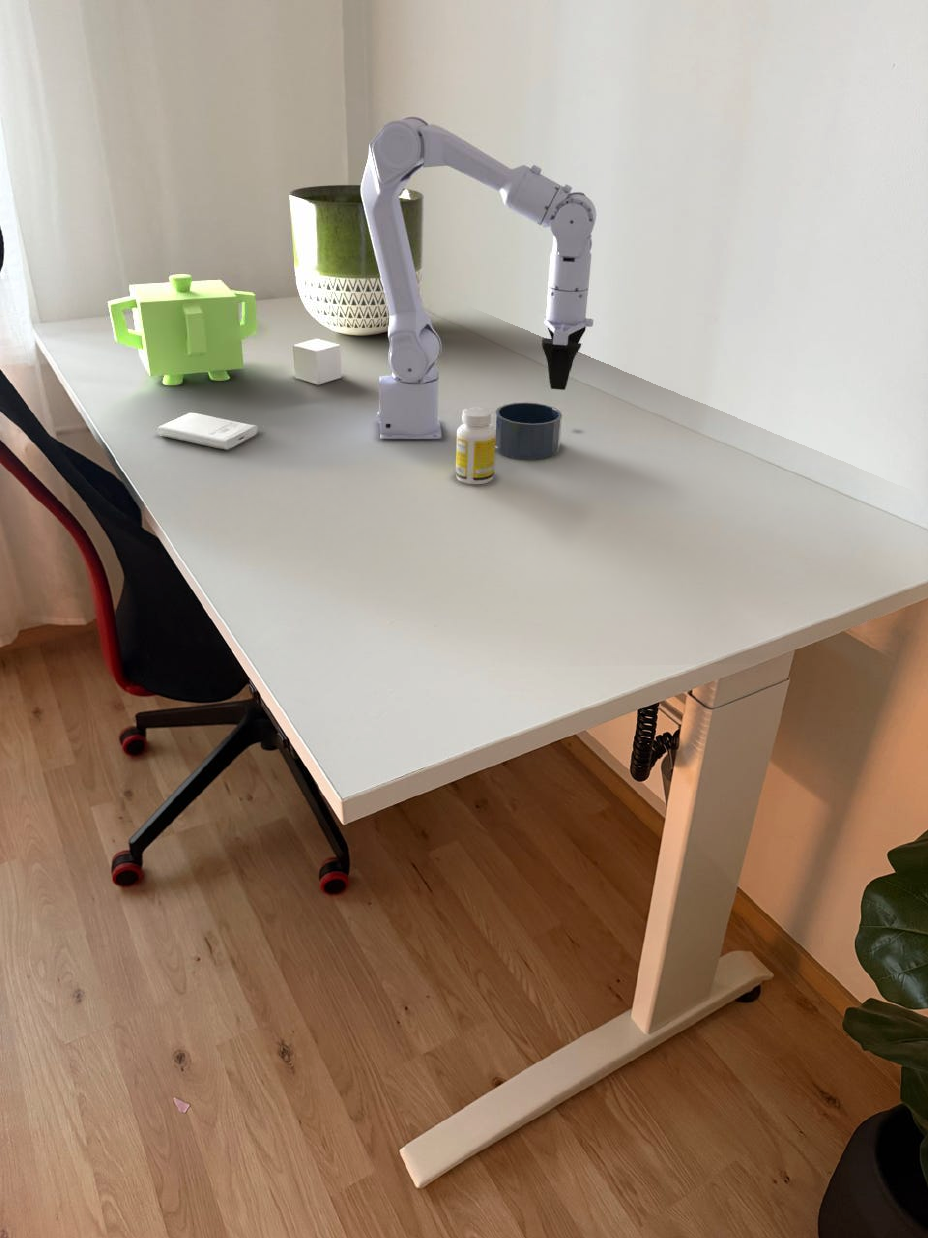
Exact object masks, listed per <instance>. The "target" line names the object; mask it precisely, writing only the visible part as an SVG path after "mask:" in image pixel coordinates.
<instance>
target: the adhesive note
mask: <svg viewBox="0 0 928 1238" xmlns="http://www.w3.org/2000/svg"><path fill="white" fill-rule="evenodd" d="M341 351H342V350H341V344H339V343H335V342H332V341H328V340H324V339H320V338H314V339H310V340H307V341H304V342H298V343H295V344H292V353H293V366H294V367H293V368H294V378H295V379H298V380H301V381H304V382H308V383H311V384H315V385H321V384H325V383H328V382H331V381H334V380H335V381H336V380H338V379H341V378H342V357H341V355H342V354H341Z"/></svg>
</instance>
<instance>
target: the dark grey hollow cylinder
mask: <svg viewBox="0 0 928 1238" xmlns="http://www.w3.org/2000/svg"><path fill="white" fill-rule="evenodd" d="M562 424H563V414H562V412H561V410H559V409H557V408H555V406H554V407H553V406H551V405H549V404H544V403H543V404H542V403H537V402H512V403H506V404H503V405H501V406H498V407H497V409H496V410H495V411H494V430H495V452H498V453H499V454H501V455H503V456H506V457H508V458H512V459H518V460H526V461H527V460H529V461H530V460H531V461H532V460H533V461H534V460H542V459H543V460H544V459H547V458H551V457H554V456H555V455H557V454H558V453H559V451H560V446H561V435H562Z"/></svg>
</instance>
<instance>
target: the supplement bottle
mask: <svg viewBox="0 0 928 1238" xmlns="http://www.w3.org/2000/svg"><path fill="white" fill-rule="evenodd" d="M461 415H462V416H461V422H462V423H463V424H461V425H460V426H459V427H458V428H457V430H456V452H455V453H456V455H455V456H456V458H455V476H456V479H457V480H458V481H459V482H461V483H463V484H467V485H485V484H488V483H491V481H492V480H493V479H494V474H495V455H496V453H495V452H496V449H495V427H493V426H492V425H490V424H491V422H492V411H491V410H490V409H488V408H485V407H478V406H477V407H475V406H474V407H467V408H464V409H463V410H462V414H461Z"/></svg>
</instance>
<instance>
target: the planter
mask: <svg viewBox="0 0 928 1238" xmlns="http://www.w3.org/2000/svg"><path fill="white" fill-rule="evenodd" d="M288 198H289V199H288V200H289V202H288V203H289V215H290V226H291V238H292V239H291V240H292V252H293V262H294V263H293V264H294V274H295V283H296V287H297V291H298V294H299V297H300V299H301V302H302V304H303V306H304V308H305V309H306V311H307V312H308V313H309V314H310V316H312V318H314V319H315V320H316V321H317V322H318V323H320V325H322V326H324V327H326V328H327V329H329V330H331V331H333V332H337V333H339V334H343V335H349V336H374V335H379V334H382V333H386V332H388V330H389V322H390V315H389V310H388V306H387V302H386V298H385V294H384V289H383V285H382V281H381V277H380V272H379V268H378V264H377V260H376V255H375V251H374V247H373V243H372V238H371V234H370V230H369V226H368V221H367V217H366V213H365V209H364V204H363V200H362V196H361V184H332V185H331V184H330V185H329V184H328V185H316V186H315V185H313V186H306V187H301V188H296V189H292V190H291V191H290V192H289V193H288ZM399 200H400V205H401V209H402V214H403V218H404V223H405V228H406V232H407V237H408V241H409V246H410V250H411V255H412V260H413V264H414V269H415V273H416V278H417V282H418V287H419V292H420V293H421V289H422V283H423V282H422V281H423V262H424V217H425V198H424V194H423V193H421V192H420V191H417V190H413V189H409V188H403V190H402V192H401V193H400V195H399Z"/></svg>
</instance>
